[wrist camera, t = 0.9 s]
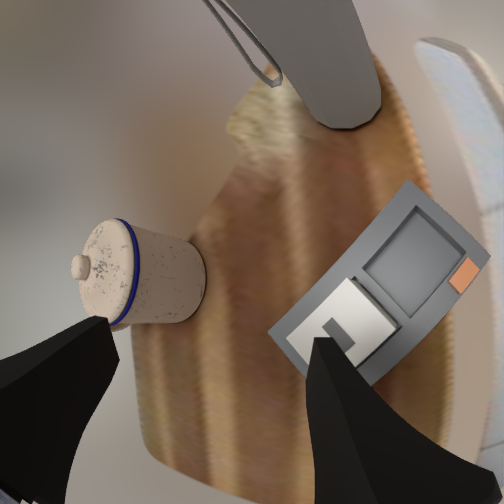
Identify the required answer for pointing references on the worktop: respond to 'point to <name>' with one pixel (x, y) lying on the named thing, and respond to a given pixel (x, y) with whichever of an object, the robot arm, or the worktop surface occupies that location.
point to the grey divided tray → (397, 276)
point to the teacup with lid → (138, 276)
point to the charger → (345, 323)
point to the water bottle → (313, 54)
